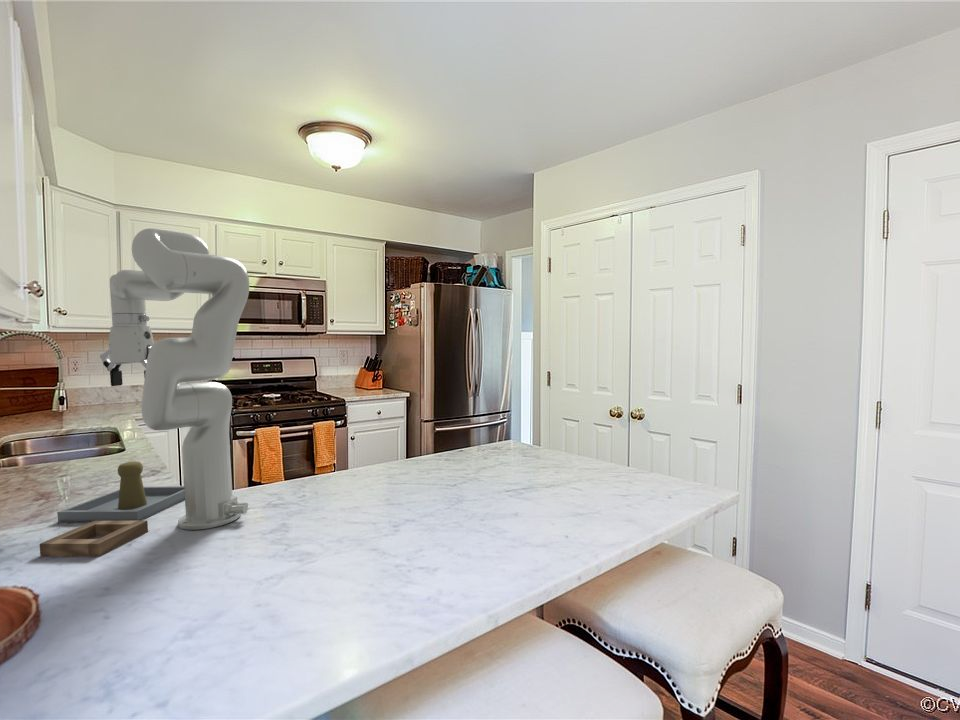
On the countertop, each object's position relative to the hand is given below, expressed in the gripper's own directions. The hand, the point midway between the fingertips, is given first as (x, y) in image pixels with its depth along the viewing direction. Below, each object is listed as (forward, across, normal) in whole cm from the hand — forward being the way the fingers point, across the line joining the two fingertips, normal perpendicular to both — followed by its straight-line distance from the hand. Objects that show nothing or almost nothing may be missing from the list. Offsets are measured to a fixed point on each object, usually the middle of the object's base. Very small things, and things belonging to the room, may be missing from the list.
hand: (133, 385), depth 134 cm
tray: (+30, -5, +9) cm, 32 cm away
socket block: (+30, -16, +31) cm, 46 cm away
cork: (+30, -6, +9) cm, 32 cm away
